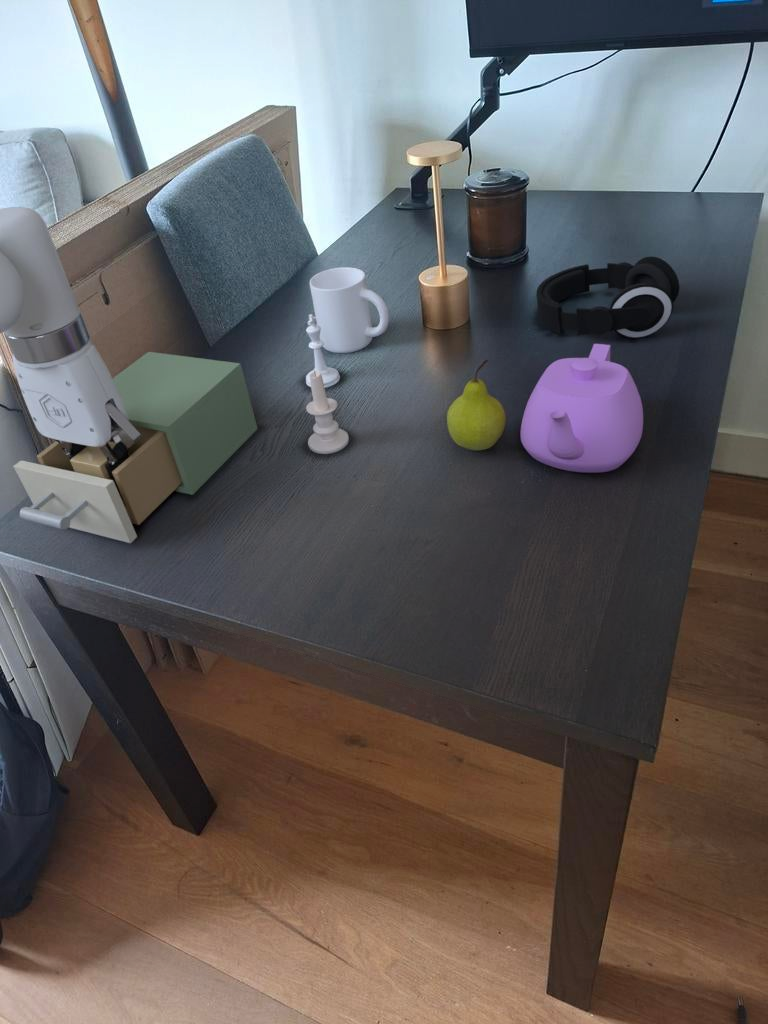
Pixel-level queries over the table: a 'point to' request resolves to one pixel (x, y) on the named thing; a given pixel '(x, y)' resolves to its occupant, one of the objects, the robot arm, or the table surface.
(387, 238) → the table surface
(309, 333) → the chess piece
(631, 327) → the headphones
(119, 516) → the drawer
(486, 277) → the table surface
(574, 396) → the teapot
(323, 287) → the mug
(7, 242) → the robot arm
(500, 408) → the fruit
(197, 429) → the cabinet
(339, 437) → the candle
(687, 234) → the table surface
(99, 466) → the block
